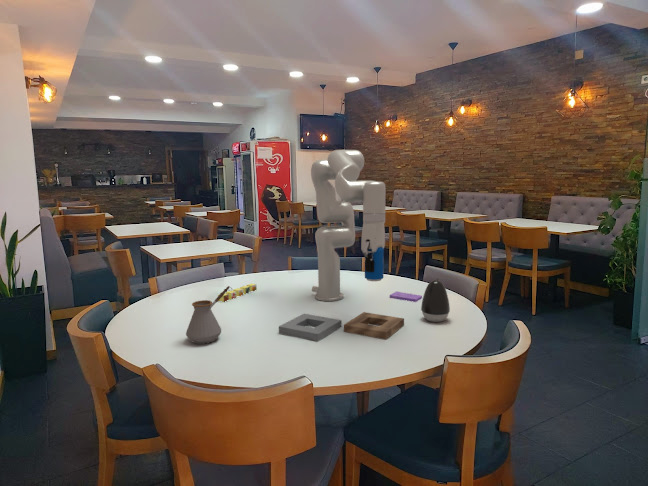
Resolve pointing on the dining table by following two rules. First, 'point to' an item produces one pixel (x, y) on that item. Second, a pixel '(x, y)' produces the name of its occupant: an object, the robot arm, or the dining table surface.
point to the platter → (238, 292)
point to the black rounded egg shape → (435, 302)
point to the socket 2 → (363, 328)
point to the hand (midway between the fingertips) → (374, 269)
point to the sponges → (405, 296)
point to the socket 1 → (320, 331)
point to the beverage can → (376, 266)
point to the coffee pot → (204, 322)
